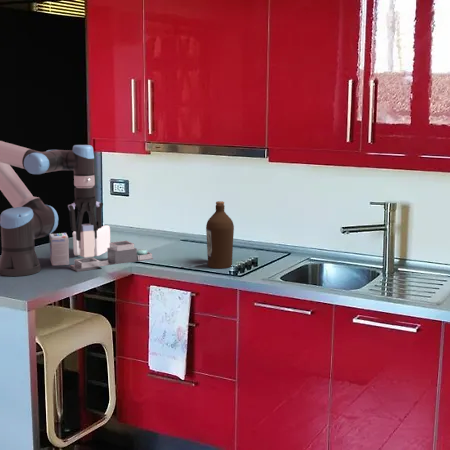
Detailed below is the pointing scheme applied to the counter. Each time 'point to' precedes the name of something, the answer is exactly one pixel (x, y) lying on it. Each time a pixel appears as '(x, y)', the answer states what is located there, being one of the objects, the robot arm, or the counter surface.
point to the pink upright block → (87, 240)
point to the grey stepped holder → (112, 257)
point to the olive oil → (219, 238)
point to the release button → (141, 251)
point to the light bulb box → (59, 249)
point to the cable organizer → (96, 241)
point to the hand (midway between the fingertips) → (86, 247)
